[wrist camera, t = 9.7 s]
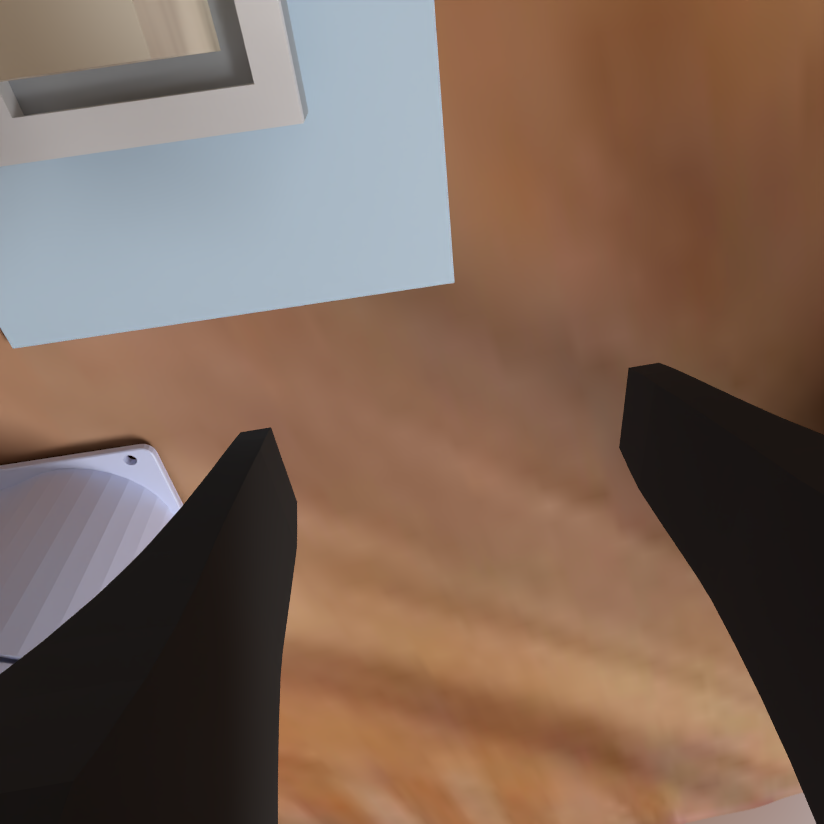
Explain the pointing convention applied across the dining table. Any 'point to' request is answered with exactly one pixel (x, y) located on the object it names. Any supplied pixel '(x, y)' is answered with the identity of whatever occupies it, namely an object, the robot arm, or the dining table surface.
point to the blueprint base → (227, 174)
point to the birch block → (98, 34)
